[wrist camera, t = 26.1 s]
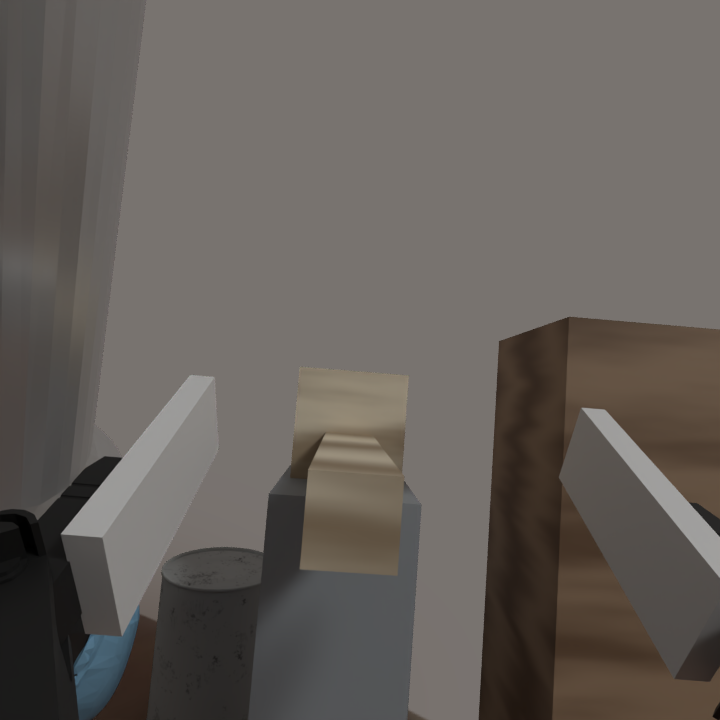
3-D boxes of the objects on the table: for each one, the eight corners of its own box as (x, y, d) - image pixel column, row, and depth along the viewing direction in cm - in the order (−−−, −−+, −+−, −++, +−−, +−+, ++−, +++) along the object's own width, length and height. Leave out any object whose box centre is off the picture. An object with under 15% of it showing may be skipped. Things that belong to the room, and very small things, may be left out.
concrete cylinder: (142, 695, 40) (158, 551, 41) (251, 674, 45) (263, 544, 46) (145, 780, 32) (165, 596, 33) (280, 745, 36) (294, 581, 37)
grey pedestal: (391, 964, 23) (421, 504, 24) (226, 958, 22) (268, 493, 24) (376, 790, 33) (398, 473, 34) (261, 784, 32) (290, 465, 34)
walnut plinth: (720, 1062, 20) (730, 330, 23) (538, 1055, 20) (569, 316, 22) (594, 840, 30) (611, 350, 33) (472, 834, 30) (499, 341, 32)
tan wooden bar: (462, 579, 14) (475, 354, 15) (233, 564, 14) (255, 336, 15) (392, 472, 34) (399, 378, 35) (297, 465, 34) (306, 370, 35)
